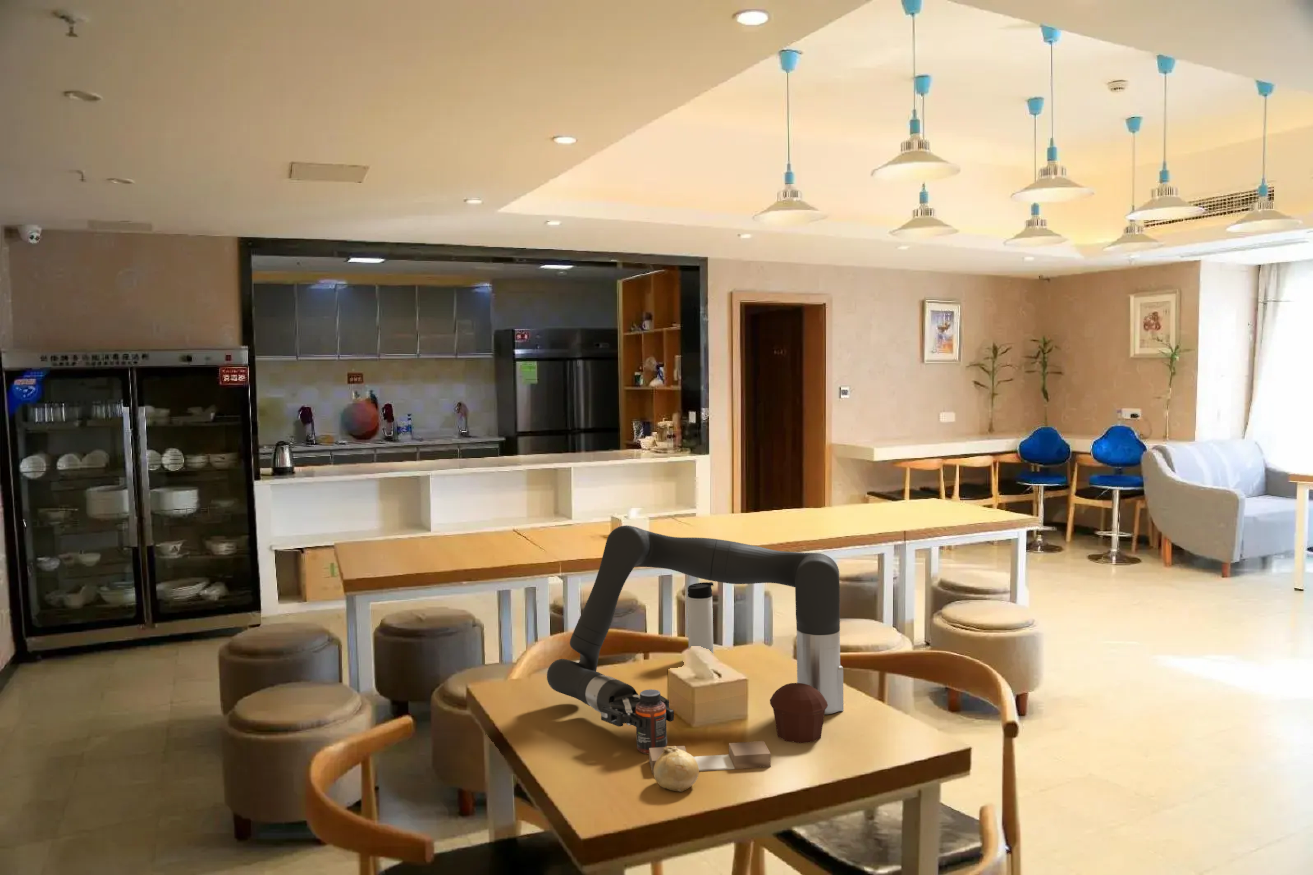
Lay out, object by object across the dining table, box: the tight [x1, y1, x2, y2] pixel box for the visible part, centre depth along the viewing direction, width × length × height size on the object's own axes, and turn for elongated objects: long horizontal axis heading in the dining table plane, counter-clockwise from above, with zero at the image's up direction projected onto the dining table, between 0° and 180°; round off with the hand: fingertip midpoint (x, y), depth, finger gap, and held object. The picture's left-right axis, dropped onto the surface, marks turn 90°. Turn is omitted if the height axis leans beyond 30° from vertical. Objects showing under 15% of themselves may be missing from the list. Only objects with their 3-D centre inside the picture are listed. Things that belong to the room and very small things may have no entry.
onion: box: [653, 745, 700, 793], centre depth 166 cm, size 8×8×7 cm
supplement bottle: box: [635, 688, 668, 755], centre depth 182 cm, size 6×6×11 cm
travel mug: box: [687, 581, 714, 654], centre depth 239 cm, size 6×7×20 cm
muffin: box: [769, 682, 828, 744], centre depth 188 cm, size 12×11×10 cm
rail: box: [648, 740, 772, 775], centre depth 175 cm, size 22×6×2 cm, turn 96°
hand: (658, 720), depth 180 cm, fingers open, 6 cm apart
